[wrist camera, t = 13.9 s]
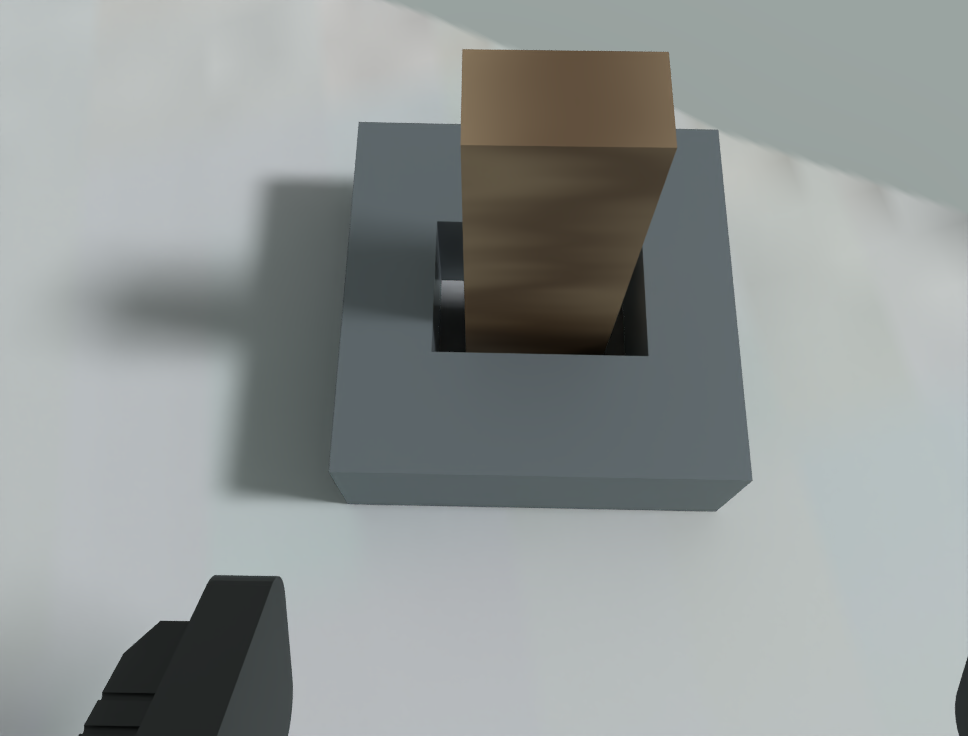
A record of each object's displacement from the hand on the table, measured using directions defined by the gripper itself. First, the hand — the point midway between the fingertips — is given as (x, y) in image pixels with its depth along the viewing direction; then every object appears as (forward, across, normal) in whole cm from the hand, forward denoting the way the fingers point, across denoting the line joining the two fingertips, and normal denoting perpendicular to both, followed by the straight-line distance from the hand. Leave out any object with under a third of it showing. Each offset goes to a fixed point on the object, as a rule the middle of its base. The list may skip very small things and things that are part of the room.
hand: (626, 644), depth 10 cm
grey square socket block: (+21, 0, +4) cm, 21 cm away
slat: (+21, 0, +4) cm, 21 cm away
